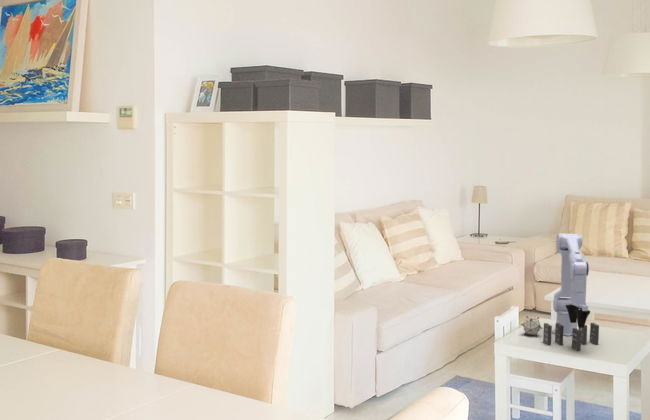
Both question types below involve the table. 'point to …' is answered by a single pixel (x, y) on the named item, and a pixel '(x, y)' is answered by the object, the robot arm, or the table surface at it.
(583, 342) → the domino
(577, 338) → the domino
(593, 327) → the domino
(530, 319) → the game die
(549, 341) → the domino
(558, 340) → the domino
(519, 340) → the table surface
